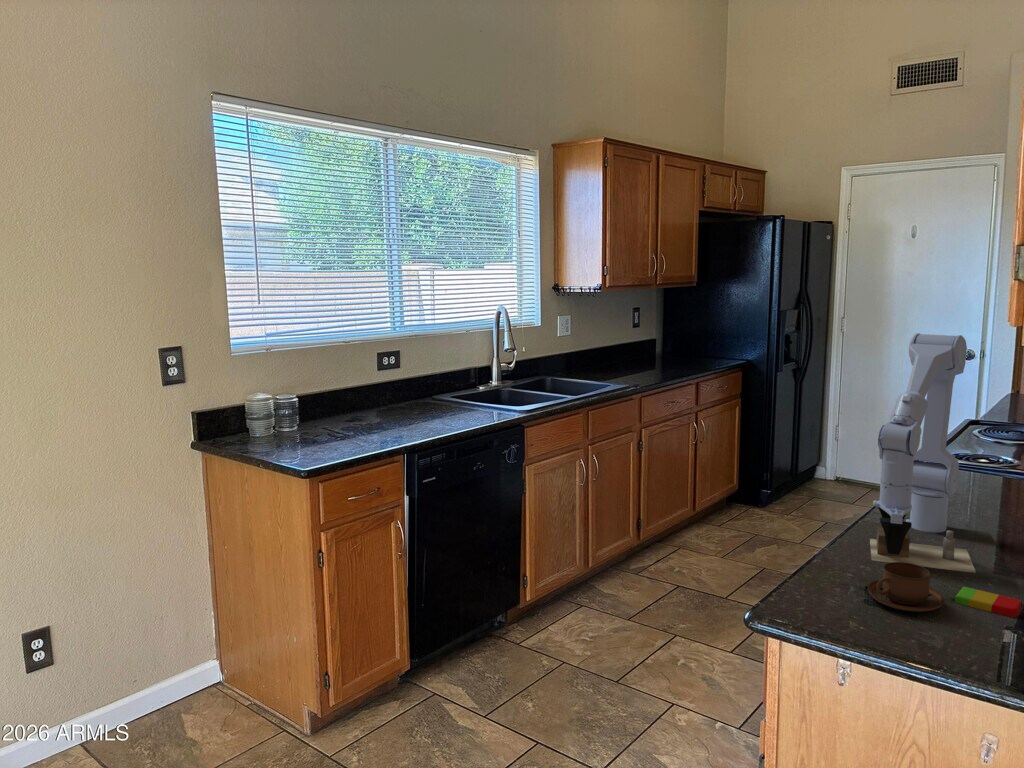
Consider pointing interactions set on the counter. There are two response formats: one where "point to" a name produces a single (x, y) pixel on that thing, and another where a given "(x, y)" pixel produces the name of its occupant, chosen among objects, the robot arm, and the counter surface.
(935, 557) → the fitting board
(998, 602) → the popsicle
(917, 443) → the robot arm
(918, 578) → the cup and saucer
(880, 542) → the collar
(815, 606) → the counter surface
